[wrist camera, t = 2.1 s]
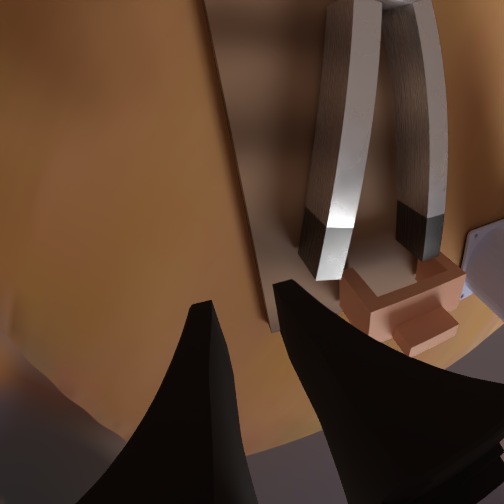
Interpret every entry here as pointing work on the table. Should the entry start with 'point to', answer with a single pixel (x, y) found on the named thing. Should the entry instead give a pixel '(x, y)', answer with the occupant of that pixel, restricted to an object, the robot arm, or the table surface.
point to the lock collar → (407, 306)
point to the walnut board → (299, 145)
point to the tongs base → (418, 123)
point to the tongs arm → (341, 134)
